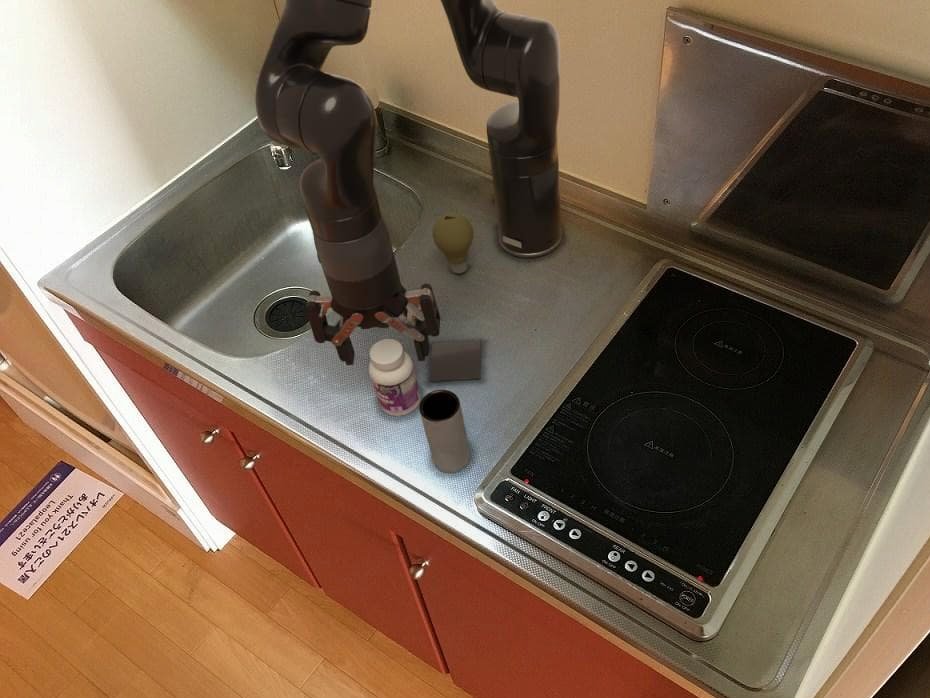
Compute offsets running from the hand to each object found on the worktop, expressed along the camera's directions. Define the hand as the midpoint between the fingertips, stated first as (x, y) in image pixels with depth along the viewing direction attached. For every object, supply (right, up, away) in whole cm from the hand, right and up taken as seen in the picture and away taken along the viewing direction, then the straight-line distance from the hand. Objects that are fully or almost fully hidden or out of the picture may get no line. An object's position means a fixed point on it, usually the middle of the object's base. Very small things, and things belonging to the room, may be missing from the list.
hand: (386, 357), depth 97 cm
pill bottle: (+1, -5, +7) cm, 9 cm away
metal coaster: (+8, 0, +10) cm, 13 cm away
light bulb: (+7, +13, +21) cm, 26 cm away
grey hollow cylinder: (+8, -12, +1) cm, 14 cm away
